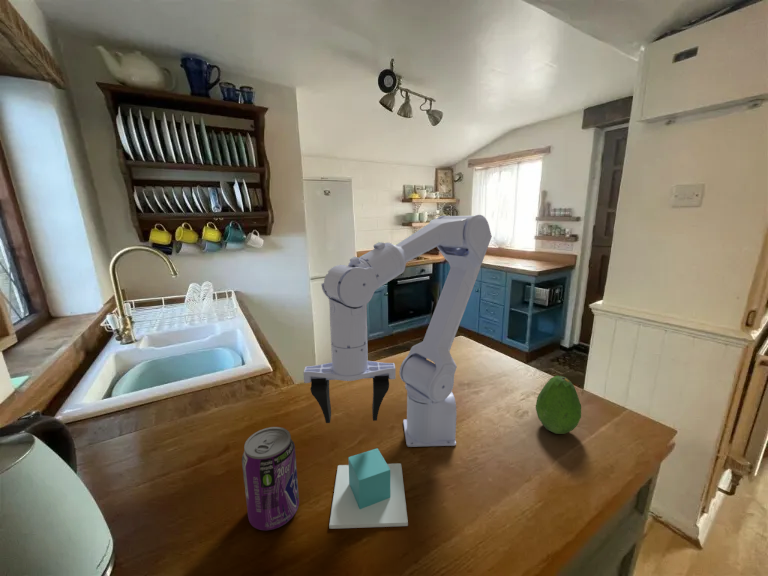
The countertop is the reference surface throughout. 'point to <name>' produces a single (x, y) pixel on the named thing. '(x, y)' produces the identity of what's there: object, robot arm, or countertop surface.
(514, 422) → the countertop surface
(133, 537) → the countertop surface
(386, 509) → the plate
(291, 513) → the beverage can
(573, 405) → the avocado
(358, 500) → the cube
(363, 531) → the countertop surface
